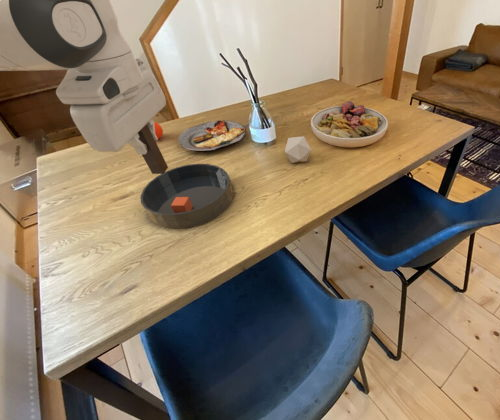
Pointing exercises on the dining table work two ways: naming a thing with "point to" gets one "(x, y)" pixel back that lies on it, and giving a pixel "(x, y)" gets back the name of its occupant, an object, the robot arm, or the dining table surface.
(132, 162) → the dining table surface
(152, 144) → the stick
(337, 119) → the bowl
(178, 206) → the block
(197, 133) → the food plate
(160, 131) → the clementine
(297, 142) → the die
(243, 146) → the dining table surface
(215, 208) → the bowl
